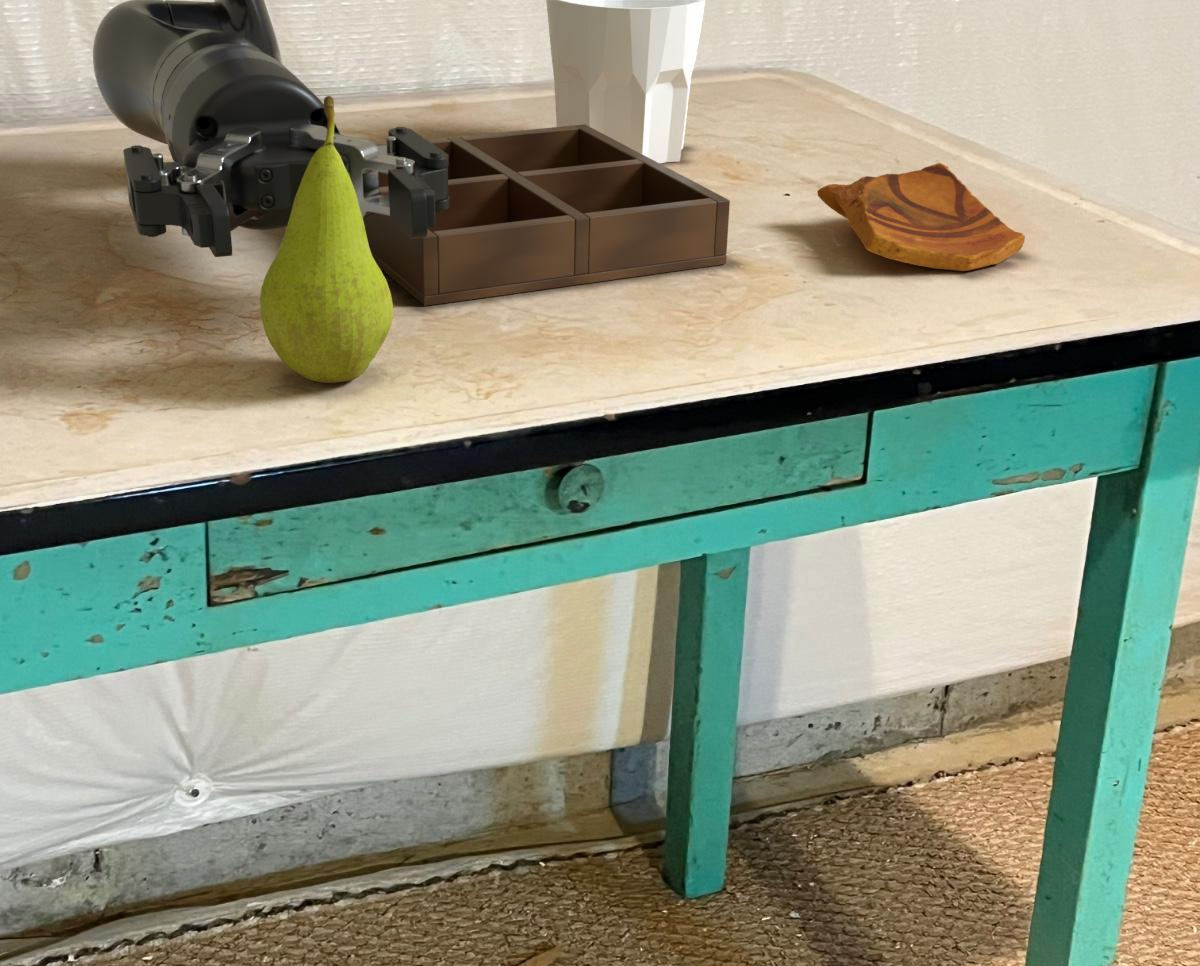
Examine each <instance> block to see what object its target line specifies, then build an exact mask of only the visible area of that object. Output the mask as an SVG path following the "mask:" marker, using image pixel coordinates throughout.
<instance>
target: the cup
mask: <svg viewBox="0 0 1200 966" xmlns="http://www.w3.org/2000/svg"><path fill="white" fill-rule="evenodd" d="M545 1H546V13H547V23H548V33H549V44H550V45H549V46H550V55H551V64H552V73H553V81H554V102H555V121H556V127H562V126H572V125H573V126H575V125H583V124H585V125H587V126H589V127H591V128H593V129H595V130H597V131H599V132H601V133H602V134H604V135H606V136H608V137H610V138H612V139H614V140H616V141H618V142H620V143H621V144H623V145H625V146H627V147H629V148H631V149H633V150H635V151H637V152H639V153H641V154H642V155H644V156H646V157H648V158H650V159H652V160H654V161H656V162H658V163H660V164H664V163H665V164H666V163H677V162H678V163H679V162H681V156H682V150H683V149H684V144H685V143H684V142H685V134H686V126H687V118H688V117H687V116H688V108H689V99H690V91H691V81H692V75H693V72H694V67H695V64H696V60H697V56H698V55H697V53H698V48H699V43H700V37H701V31H702V27H703V26H702V25H703V20H704V19H703V18H704V13H705V9H706V2H707V1H706V0H545Z"/></svg>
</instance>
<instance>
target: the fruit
mask: <svg viewBox="0 0 1200 966" xmlns="http://www.w3.org/2000/svg"><path fill="white" fill-rule="evenodd" d="M334 101H335V100H334V97H332V96H331V95H327V96H325V97H324V99H323V104H324V113H325V115H326V117H327V120H328V128H327V136H326V140H325V143H324V144H323V145H322V146H321V147H320V148H319V149H318V150H317V151H316V152H315V153H314V155H313V157H312V158H311V160H310V162H309V164H308V167H307V169H306V171H305V173H304V176H303V178H302V181H301V183H300V186H299V189H298V191H297V194H296V196H295V200H294V203H293V207H292V211H291V215H290V218H289V221H288V225H287V226H286V227H285V231H284V234H283V236H282V240H281V243H280V246H279V248H278V251H277V253H276V255H275V258H274V259H273V260H272V262H271V264H270V265H269V268H268V269H267V272H266V274H265V277H264V279H263V282H262V285H261V289H260V295H259V309H260V310H259V311H260V316H261V321H262V326H263V330H264V333H265V335H266V338H267V340H268V342H269V344H270V346H271V347H272V348H273V350H274V352H275V353H276V355H277V356H278V358H279V359H280V360H281V361H282V362H283V363H284V364H285V365H286V366H287V367H288V368H290V369H291V370H292V371H293V372H295V373H296V374H298V375H299V376H301V377H302V378H304V379H307V380H310V381H313V382H316V383H324V384H333V383H343V382H350V381H353V380H356V379H357V378H359V377H360V376H361V375H362V374H364V372H365V371H366V370H367V369H368V368H369V366H370V364H371V363H372V361H373V360H374V358H375V356H376V355H377V354H378V352H379V351H380V349H381V347H382V346H383V344H384V343H385V341H386V340H387V339H386V338H387V337H388V335H389V332H390V331H391V328H392V324H393V323H392V322H393V317H394V305H393V304H394V303H393V298H392V297H393V296H392V293H391V289H390V288H389V284H388V281H387V279H386V277H385V275H384V274H383V271H382V269H381V268H379V267H378V265H377V264H376V262H375V260H374V258H373V257H372V254H371V251H370V248H369V244H368V240H367V235H366V231H365V226H364V221H363V218H362V214H361V210H360V207H359V203H358V200H357V196H356V193H355V190H354V187H353V184H352V181H351V179H350V177H349V174H348V172H347V170H346V168H345V166H344V164H343V161H342V159H341V156H340V155H339V153H338V152H337V150H336V149H335V147H334V145H333V137H334V125H335V124H336V121H335V117H336V116H335V102H334Z"/></svg>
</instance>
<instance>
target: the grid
mask: <svg viewBox="0 0 1200 966" xmlns="http://www.w3.org/2000/svg"><path fill="white" fill-rule="evenodd" d="M427 140H428V141H429V142H431V143H432V144H434V145H435V146H436V147H438V148H439V149H441V150H442V151H444V152H445V153H447V154H448V155H449V166H448V196H449V202H450V207H449V208H448V209H446V210H442V211H439V212H435V215H436V224H435V227H428V233H427V237H426V238H416V239H410V238H409V237H408V236H407V235H406V234H405V233H404V232H403V231H402V230H401V229H400V228H399V227H398V226H397V225H396V224H395V223H394V222H393V221H392V219H391V218H390V216H388V215H383V214H378V213H375V214H373V215H370V216H368V217H365V218H363V221H364V226H365V231H366V235H367V240H368V244H369V248H370V251H371V254H372V257H373V258H374V260H375V262H376V264H377V265H378V267H379V268H380V270H381V271H382V272H384V274H386V275H387V276H388V277H390V278H391V279H392V280H393V281H394V282H396V283H397V284H398V285H399V286H401V288H403V289H404V290H405V291H406V292H407V293H409V295H411V296H412V297H413V298H415V300H417V301H418V303H421V305H423V306H424V307H427V306H428V307H429V306H435V305H440V304H441V305H442V304H448V303H456V302H462V301H469V300H477V299H484V298H491V297H500V296H505V295H506V296H507V295H513V294H519V293H526V292H527V293H528V292H533V291H534V292H535V291H541V290H550V289H556V288H565V287H571V286H577V285H584V284H592V283H598V282H606V281H612V280H614V281H615V280H619V279H621V280H622V279H628V278H635V277H641V276H642V277H643V276H649V275H657V274H664V273H671V272H678V271H684V270H691V269H692V270H693V269H698V268H705V267H713V266H720V265H726V264H727V257H728V256H727V252H728V239H729V238H728V235H729V234H728V233H729V221H730V205H731V204H730V203H731V201H730V199H729V198H726V197H724V196H723V195H720V194H718V193H717V192H715V191H713V190H712V189H709V188H707V187H706V186H703V185H701V184H700V183H698V182H695V181H694V180H692V179H690V178H689V177H686V176H685V175H683V174H680V173H679V172H677V171H675V170H673V169H672V168H669V167H667V166H666V165H663V164H662V163H658V162H656V161H654V160H652V159H650V158H648V157H646V156H644V155H642V154H641V153H639V152H637V151H635V150H633V149H631V148H629V147H627V146H625V145H623V144H621V143H620V142H618V141H616V140H614V139H612V138H610V137H608V136H606V135H604V134H602V133H601V132H599V131H597V130H595V129H593V128H591V127H589V126H587V125H585V124H583V125H575V126H573V125H572V126H562V127H557V126H553V127H542V128H532V129H522V130H521V129H520V130H512V131H501V132H492V133H491V132H489V133H481V134H471V135H462V136H461V135H460V136H452V137H441V138H439V137H438V138H431V139H430V138H429V139H427ZM385 145H387V143H380V144H379V143H378V144H376V146H385ZM379 190H380V192H381V194H382V195H384V196H388V197H389V192H388V175H385V174H382V173H380V172H379Z"/></svg>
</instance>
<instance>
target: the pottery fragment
mask: <svg viewBox="0 0 1200 966" xmlns="http://www.w3.org/2000/svg"><path fill="white" fill-rule="evenodd" d="M816 193H817V197H818V198H819V199H820V200H821V201H822V202H823V203H824V204H825V205H826V206H828V208H830V209H831V210H833V211H834V212H836V213H837V214H839V215H840V216H842V217H844V218H845V219H847V221H848V222H849V225H850V227H851V228H852V230H853V231H854V233H855V234H856V236H857V237H858V239H859V241H861V243H862V245H863V246H864V248H865V250H866V251H868V252H870V253H872V254H875V255H878V256H881V257H883V258H886V259H890V260H892V261H897V262H900V263H905V264H909V265H914V266H918V267H925V268H931V269H938V270H950V271H960V272H965V271H966V272H967V271H971V270H976V269H981V268H985V267H988V266H991V265H997V264H1001V262H1003V261H1006V260H1007V259H1009V258H1010V257H1012V256H1014V255H1015V254H1017V253H1018V252H1020V250H1021V249H1022V247H1023V246H1024V244H1025V239H1026V235H1024V233H1022V232H1019V231H1015V230H1013V229H1012V228H1010V227H1009V226H1008V225H1006V223H1004V222H1003V221H1002V220H1001V219H1000V218H999V217H998V216H996V215H994V213H993V212H992V210H990V209H989V208H988V207H987V206H985V204H984V203H982V201H980V200H979V198H977V196H975V195H973V194H972V191H970V189H968V188H967V186H966V185H965V184H964V183H963V182H962V180H960V179H958V177H957V176H956V175H955V173H953V172H952V171H951V169H949V166H948V165H945V164H943V163H942V162H937V163H935V164H931V165H928V166H925V167H923V168H921V169H918V170H917V169H916V170H913V171H908V172H902V173H885V174H882V175H878V176H870V175H866V176H862V177H860V178H859V179H858V180H855V181H853V182H852V183H849V184H838V183H831V184H827V185H825V186H823V187H820V188H819V189H818V190H817V192H816Z"/></svg>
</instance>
